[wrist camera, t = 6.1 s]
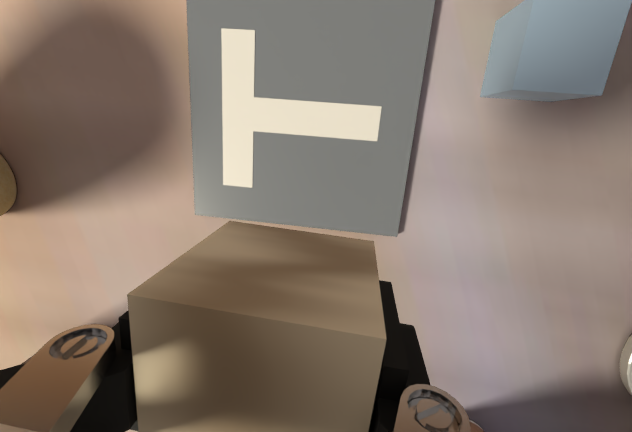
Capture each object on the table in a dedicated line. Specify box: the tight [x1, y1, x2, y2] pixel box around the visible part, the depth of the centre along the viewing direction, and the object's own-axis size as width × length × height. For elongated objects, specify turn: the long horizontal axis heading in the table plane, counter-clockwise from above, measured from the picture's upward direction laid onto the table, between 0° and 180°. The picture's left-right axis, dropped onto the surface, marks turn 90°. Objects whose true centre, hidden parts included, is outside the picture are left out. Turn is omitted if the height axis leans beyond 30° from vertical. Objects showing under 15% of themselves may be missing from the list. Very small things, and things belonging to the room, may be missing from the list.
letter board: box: [187, 0, 435, 237], centre depth 25 cm, size 18×18×1 cm
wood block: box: [127, 221, 387, 432], centre depth 9 cm, size 5×5×5 cm
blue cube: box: [480, 0, 632, 102], centre depth 20 cm, size 5×5×5 cm
